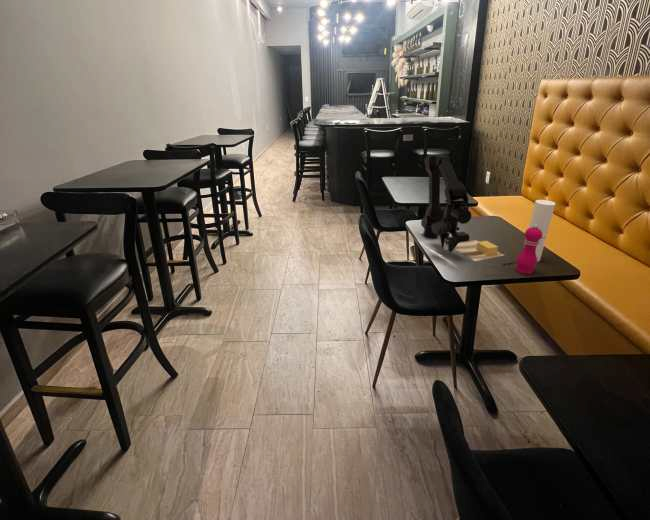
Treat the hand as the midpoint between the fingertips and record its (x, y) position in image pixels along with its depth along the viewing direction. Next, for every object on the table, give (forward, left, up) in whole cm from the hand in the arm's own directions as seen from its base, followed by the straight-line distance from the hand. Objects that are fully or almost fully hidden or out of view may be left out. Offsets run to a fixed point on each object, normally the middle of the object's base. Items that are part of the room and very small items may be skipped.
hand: (446, 249), depth 169 cm
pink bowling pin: (+24, +20, -3) cm, 31 cm away
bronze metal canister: (0, 0, -2) cm, 2 cm away
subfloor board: (+3, +13, -2) cm, 14 cm away
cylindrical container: (+16, +32, -3) cm, 36 cm away
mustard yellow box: (+6, +16, -1) cm, 17 cm away
